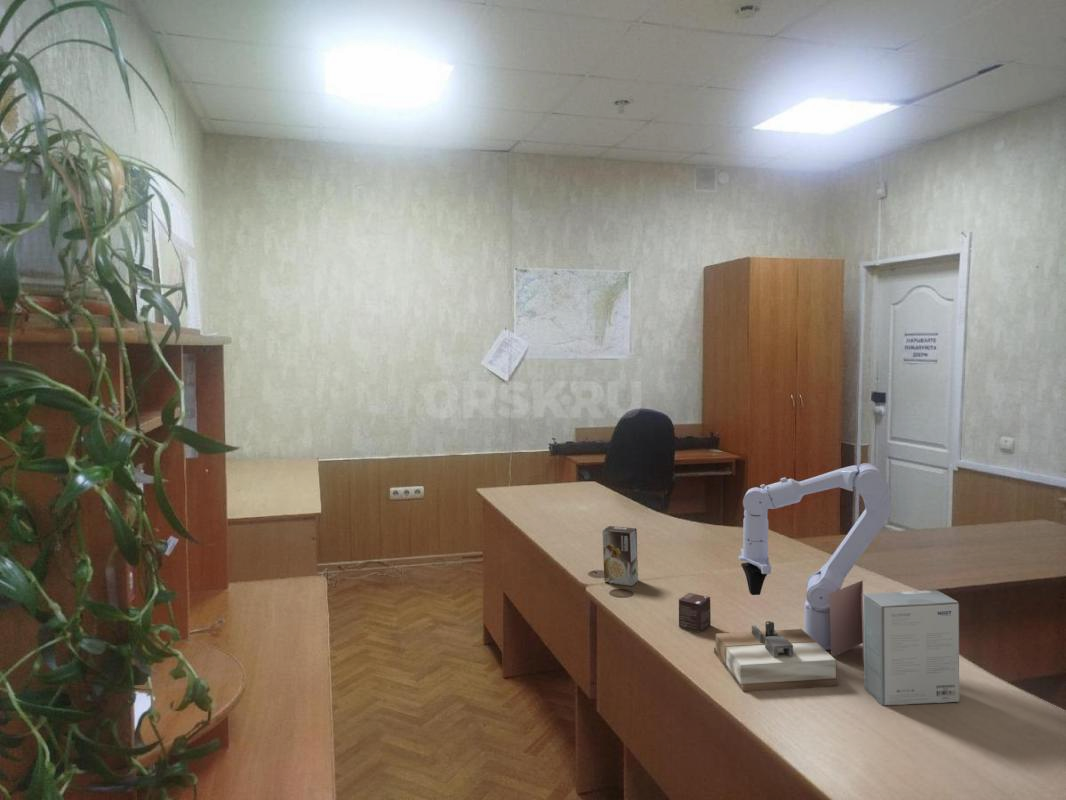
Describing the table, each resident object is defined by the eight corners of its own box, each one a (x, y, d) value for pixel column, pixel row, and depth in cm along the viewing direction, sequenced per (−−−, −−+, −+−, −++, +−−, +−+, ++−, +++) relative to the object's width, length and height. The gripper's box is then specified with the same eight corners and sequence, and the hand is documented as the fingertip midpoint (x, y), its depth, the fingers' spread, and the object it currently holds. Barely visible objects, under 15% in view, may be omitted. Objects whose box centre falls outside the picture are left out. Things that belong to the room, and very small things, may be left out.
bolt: (764, 640, 158) (764, 621, 158) (772, 639, 158) (772, 621, 158) (776, 653, 151) (776, 633, 151) (784, 652, 152) (784, 633, 151)
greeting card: (860, 641, 167) (859, 579, 165) (890, 653, 160) (889, 589, 158) (828, 656, 161) (825, 592, 159) (857, 669, 155) (855, 603, 153)
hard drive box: (937, 684, 147) (938, 589, 145) (960, 703, 139) (962, 602, 138) (862, 688, 146) (862, 592, 145) (881, 706, 139) (882, 605, 137)
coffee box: (639, 580, 218) (638, 528, 216) (631, 586, 212) (630, 533, 211) (610, 576, 222) (609, 525, 221) (603, 582, 216) (601, 530, 215)
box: (689, 620, 185) (689, 592, 184) (711, 625, 181) (711, 596, 181) (678, 627, 180) (677, 599, 180) (700, 633, 176) (700, 604, 176)
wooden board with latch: (713, 652, 165) (713, 620, 165) (798, 647, 166) (798, 615, 166) (742, 691, 146) (742, 655, 146) (838, 685, 147) (838, 650, 147)
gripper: (729, 531, 179) (728, 584, 180) (750, 547, 164) (749, 605, 165) (756, 530, 179) (756, 583, 180) (780, 546, 165) (779, 604, 166)
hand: (754, 594), depth 173 cm, fingers closed
